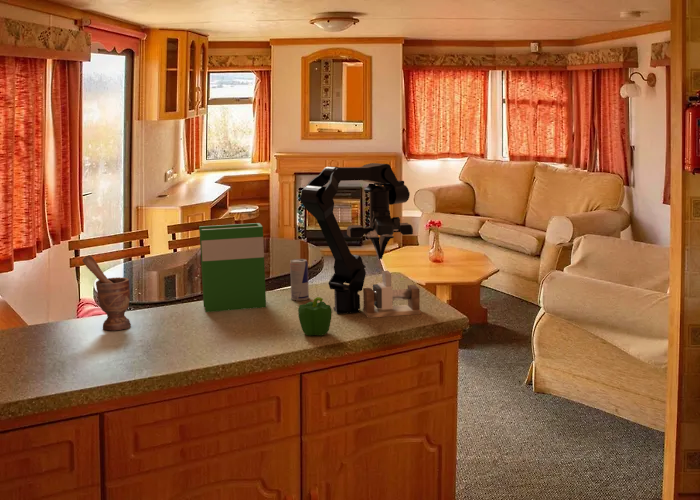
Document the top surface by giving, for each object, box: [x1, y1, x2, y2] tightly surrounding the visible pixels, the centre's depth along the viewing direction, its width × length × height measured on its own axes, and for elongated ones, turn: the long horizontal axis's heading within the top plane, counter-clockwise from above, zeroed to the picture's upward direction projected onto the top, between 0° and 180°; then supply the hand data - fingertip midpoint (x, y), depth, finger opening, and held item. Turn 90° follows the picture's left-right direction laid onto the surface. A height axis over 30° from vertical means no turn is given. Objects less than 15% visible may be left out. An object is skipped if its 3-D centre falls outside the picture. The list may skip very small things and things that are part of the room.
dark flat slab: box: [372, 283, 382, 309], centre depth 217 cm, size 1×6×6 cm, turn 11°
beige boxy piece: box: [376, 270, 394, 310], centre depth 217 cm, size 3×6×10 cm, turn 11°
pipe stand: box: [362, 284, 421, 318], centre depth 218 cm, size 15×7×7 cm, turn 101°
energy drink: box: [289, 258, 310, 302], centre depth 235 cm, size 5×5×12 cm
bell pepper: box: [297, 297, 332, 337], centre depth 198 cm, size 8×8×10 cm
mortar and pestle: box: [82, 255, 132, 331], centre depth 207 cm, size 12×9×20 cm
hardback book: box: [198, 222, 267, 313], centre depth 226 cm, size 18×7×24 cm, turn 104°
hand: (380, 258), depth 228 cm, fingers closed
